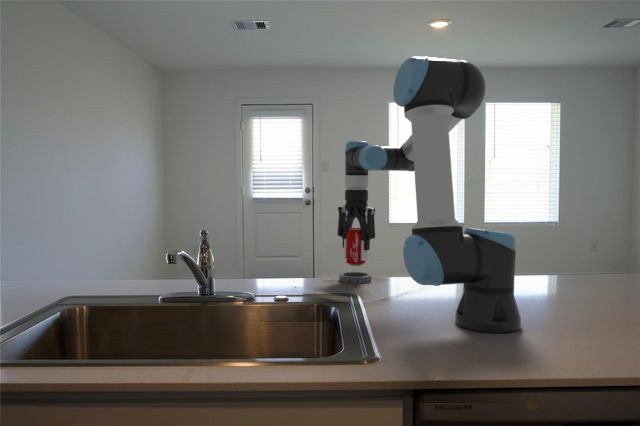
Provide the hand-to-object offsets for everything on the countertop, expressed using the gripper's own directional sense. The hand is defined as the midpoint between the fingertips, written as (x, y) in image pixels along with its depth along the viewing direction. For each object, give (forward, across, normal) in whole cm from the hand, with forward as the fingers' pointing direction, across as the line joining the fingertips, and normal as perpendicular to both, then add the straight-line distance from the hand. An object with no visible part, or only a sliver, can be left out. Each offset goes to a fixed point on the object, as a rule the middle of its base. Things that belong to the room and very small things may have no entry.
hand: (355, 258), depth 172 cm
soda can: (+2, 0, 0) cm, 2 cm away
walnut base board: (+9, 0, 0) cm, 9 cm away
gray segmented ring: (+7, 0, 0) cm, 7 cm away
